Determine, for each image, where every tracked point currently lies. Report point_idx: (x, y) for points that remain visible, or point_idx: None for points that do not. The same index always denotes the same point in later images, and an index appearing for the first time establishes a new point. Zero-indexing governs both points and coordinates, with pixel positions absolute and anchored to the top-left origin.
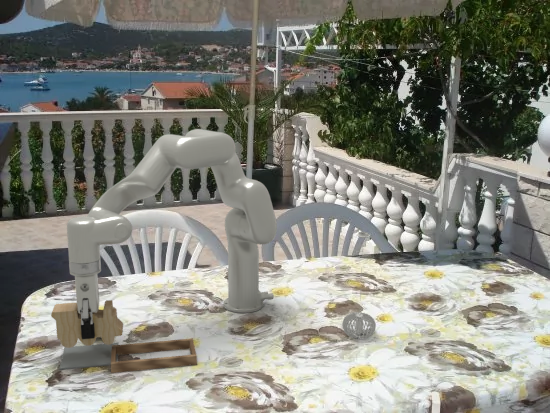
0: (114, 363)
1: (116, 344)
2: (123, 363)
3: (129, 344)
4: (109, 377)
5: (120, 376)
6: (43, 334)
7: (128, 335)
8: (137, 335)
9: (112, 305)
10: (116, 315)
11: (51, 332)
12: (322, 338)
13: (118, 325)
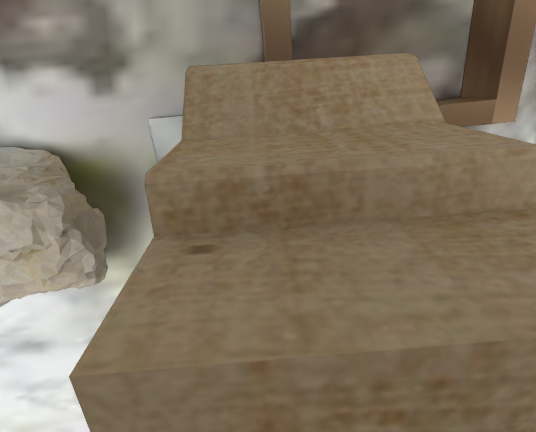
0: (515, 101)
1: (173, 128)
2: (527, 43)
3: (273, 25)
4: (516, 120)
5: (529, 64)
6: (78, 420)
7: (26, 69)
8: (14, 3)
9: (202, 279)
10: (255, 146)
11: (56, 403)
12: None
13: (365, 99)
